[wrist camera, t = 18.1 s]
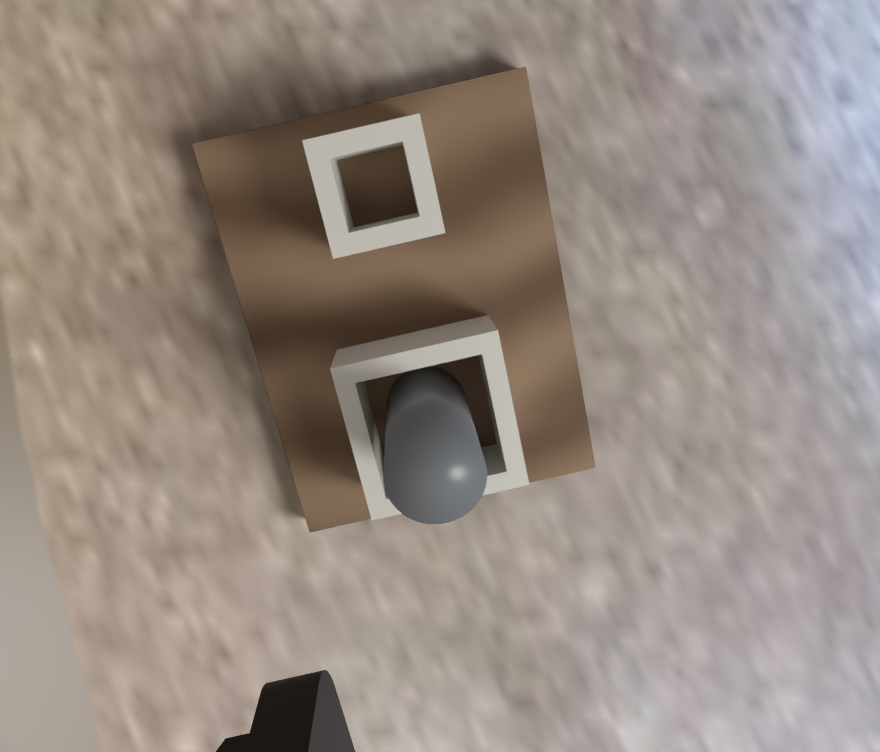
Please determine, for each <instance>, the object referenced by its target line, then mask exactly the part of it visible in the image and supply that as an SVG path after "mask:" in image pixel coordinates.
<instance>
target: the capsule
mask: <svg viewBox="0 0 880 752" xmlns="http://www.w3.org/2000/svg"><path fill="white" fill-rule="evenodd" d="M383 481H384V487H385V491H386V493H387V496H388V498H389V500H390V501H391V503H392V504H393V505H394V507H395V508H396V509H397V510H398V511H400V512H401V513H402V514H403V515H405V516H406V517H408V518H410V519H412V520H415V521H418V522H421V523H426V524H442V523H447V522H451V521H454V520H456V519H458V518H460V517H462V516H464V515H465V514H467V513H468V512H469V511H471V510H472V509H473V508H474V507H475V506H476V504H477V503H478V502H479V500H480V499H481V497H482V495H483V493H484V490H485V487H486V483H487V467H486V463H485V459H484V456H483V453H482V449H481V446H480V443H479V439H478V436H477V433H476V429H475V426H474V423H473V419H472V416H471V413H470V409H469V406H468V403H467V399H466V396H465V393H464V390H463V388H462V386H461V384H460V383H459V381H458V380H457V379H456V378H455V377H454V376H453V375H452V374H450V373H449V372H447V371H445V370H443V369H441V368H438V367H433V366H428V367H424V368H419V369H415V370H411V371H407V372H405V373H404V374H402V375H401V376H400V377H399V378H398V379H397V380H396V381H395V382H394V384H393V385H392V387H391V389H390V392H389V395H388V400H387V417H386V435H385V453H384V471H383Z"/></svg>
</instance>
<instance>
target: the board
mask: <svg viewBox="0 0 880 752" xmlns="http://www.w3.org/2000/svg"><path fill="white" fill-rule="evenodd" d="M419 113H420V117H421V122H422V126H423V131H424V136H425V140H426V145H427V149H428V154H429V159H430V163H431V168H432V173H433V177H434V182H435V186H436V191H437V196H438V200H439V205H440V210H441V214H442V219H443V224H444V228H445V233H444V234H440V235H435V236H431V237H427V238H422V239H418V240H414V241H409V242H405V243H401V244H396V245H392V246H387V247H383V248H379V249H374V250H370V251H366V252H361V253H357V254H353V255H348V256H344V257H340V258H335V259H333V257H332V253H331V249H330V245H329V242H328V238H327V234H326V230H325V226H324V222H323V219H322V215H321V211H320V207H319V203H318V200H317V196H316V192H315V188H314V184H313V180H312V177H311V173H310V169H309V165H308V161H307V157H306V154H305V150H304V146H303V142H302V140H306V139H310V138H315V137H319V136H323V135H328V134H332V133H336V132H341V131H345V130H349V129H354V128H358V127H362V126H367V125H371V124H375V123H380V122H384V121H388V120H393V119H397V118H401V117H406V116H410V115H414V114H419ZM192 146H193V149H194V152H195V156H196V159H197V162H198V166H199V169H200V172H201V175H202V179H203V182H204V185H205V189H206V192H207V195H208V199H209V202H210V205H211V208H212V212H213V215H214V218H215V222H216V225H217V228H218V232H219V235H220V238H221V241H222V245H223V248H224V251H225V255H226V258H227V261H228V264H229V268H230V271H231V274H232V278H233V281H234V284H235V288H236V291H237V294H238V297H239V301H240V304H241V307H242V311H243V314H244V317H245V321H246V324H247V327H248V330H249V334H250V337H251V340H252V344H253V347H254V350H255V354H256V357H257V360H258V363H259V367H260V370H261V373H262V377H263V380H264V383H265V387H266V390H267V393H268V396H269V400H270V403H271V406H272V410H273V413H274V416H275V420H276V423H277V426H278V429H279V433H280V436H281V439H282V443H283V446H284V449H285V453H286V456H287V459H288V462H289V466H290V469H291V472H292V476H293V479H294V482H295V486H296V489H297V492H298V495H299V499H300V502H301V505H302V509H303V512H304V515H305V519H306V522H307V525H308V528H309V532H314V531H319V530H323V529H327V528H332V527H336V526H341V525H345V524H349V523H354V522H358V521H363V520H367V519H371V516H370V512H369V509H368V505H367V501H366V498H365V494H364V491H363V487H362V483H361V480H360V476H359V472H358V469H357V465H356V461H355V458H354V454H353V450H352V447H351V443H350V440H349V436H348V432H347V429H346V425H345V421H344V418H343V414H342V410H341V407H340V403H339V400H338V396H337V392H336V389H335V385H334V381H333V378H332V374H331V370H330V367H331V365H332V362H333V359H334V356H335V354H336V351H337V349H342V348H346V347H350V346H355V345H359V344H364V343H368V342H372V341H377V340H381V339H385V338H390V337H394V336H399V335H403V334H407V333H412V332H416V331H420V330H425V329H429V328H433V327H438V326H442V325H447V324H451V323H455V322H460V321H464V320H468V319H473V318H477V317H481V316H486V315H489V317H490V318H491V320H492V322H493V323H494V325H495V326H496V328H497V329H498V332H499V337H500V342H501V347H502V352H503V357H504V362H505V367H506V372H507V377H508V382H509V387H510V391H511V396H512V401H513V406H514V411H515V416H516V421H517V426H518V431H519V436H520V441H521V446H522V450H523V455H524V460H525V465H526V470H527V475H528V480H529V483H530V482H534V481H538V480H543V479H547V478H552V477H556V476H560V475H565V474H569V473H574V472H578V471H582V470H587V469H591V468H595V462H594V456H593V450H592V445H591V439H590V433H589V427H588V422H587V416H586V410H585V404H584V399H583V393H582V387H581V381H580V376H579V370H578V364H577V358H576V353H575V347H574V341H573V335H572V330H571V324H570V318H569V312H568V307H567V301H566V295H565V289H564V284H563V278H562V272H561V266H560V261H559V255H558V249H557V243H556V238H555V232H554V226H553V220H552V215H551V209H550V203H549V197H548V191H547V186H546V180H545V174H544V168H543V163H542V157H541V151H540V145H539V140H538V134H537V128H536V122H535V117H534V111H533V105H532V99H531V94H530V88H529V82H528V76H527V71H526V67H522V68H517V69H513V70H509V71H505V72H500V73H496V74H492V75H487V76H483V77H479V78H474V79H470V80H466V81H461V82H457V83H453V84H448V85H444V86H440V87H435V88H431V89H427V90H422V91H418V92H414V93H409V94H405V95H401V96H397V97H392V98H388V99H384V100H379V101H375V102H371V103H366V104H362V105H358V106H353V107H349V108H345V109H340V110H336V111H332V112H327V113H323V114H319V115H314V116H310V117H306V118H302V119H297V120H293V121H289V122H284V123H280V124H276V125H271V126H267V127H263V128H258V129H254V130H250V131H245V132H241V133H237V134H232V135H228V136H224V137H219V138H215V139H211V140H206V141H202V142H198V143H194V144H192ZM337 162H338V166H339V170H340V174H341V178H342V182H343V186H344V190H345V194H346V198H347V202H348V206H349V210H350V214H351V218H352V222H353V226H354V227H357V226H361V225H366V224H370V223H374V222H379V221H383V220H387V219H392V218H396V217H400V216H405V215H409V214H413V213H418V211H417V207H416V202H415V198H414V193H413V189H412V184H411V180H410V175H409V171H408V167H407V162H406V158H405V153H404V149H403V145H401V146H397V147H392V148H388V149H384V150H379V151H375V152H371V153H366V154H362V155H358V156H353V157H349V158H345V159H340V160H337ZM433 367H438V368H441V369H443V370H445V371H447V372H449V373H450V374H452V375H453V376H454V377H455V378H456V379H457V380H458V381H459V383H460V384H461V386H462V388H463V390H464V393H465V396H466V399H467V403H468V406H469V409H470V413H471V416H472V419H473V423H474V426H475V429H476V433H477V436H478V439H479V443H480V446H481V447H485V446H489V445H494V444H497V442H496V438H495V433H494V428H493V424H492V419H491V414H490V409H489V405H488V400H487V395H486V391H485V386H484V381H483V377H482V372H481V367H480V363H479V358H478V355H476V356H472V357H468V358H463V359H459V360H454V361H450V362H446V363H441V364H437V365H433ZM406 372H407V371H406ZM404 373H405V372H402V373H398V374H393V375H389V376H385V377H380V378H376V379H371V380H367V381H364V382H365V386H366V390H367V393H368V397H369V401H370V405H371V409H372V413H373V416H374V420H375V424H376V428H377V432H378V435H379V439H380V443H381V447H382V451H383V454H384V453H385V435H386V417H387V400H388V395H389V392H390V389H391V387H392V385H393V384H394V382H395V381H396V380H397V379H398V378H399V377H400V376H401V375H402V374H404Z"/></svg>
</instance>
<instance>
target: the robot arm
mask: <svg viewBox="0 0 880 752" xmlns="http://www.w3.org/2000/svg"><path fill="white" fill-rule="evenodd" d="M216 752H355V750H354V746H353V743H352V740H351V737H350V734H349V730H348V727H347V724H346V721H345V718H344V714H343V711H342V708H341V705H340V701H339V698H338V695H337V692H336V689H335V686H334V683H333V680H332V678H331V676H330V674H329V673H328V671H326V670H323V671H319V672H314V673H310V674H305V675H301V676H296V677H292V678H287V679H283V680H278V681H274V682H269V683H266V684H265V685H264V686H263V688H262V691H261V694H260V697H259V701H258V705H257V708H256V712H255V716H254V719H253V723H252V727H251V731H250V733H248V734H244V735H239V736H235V737H230V738H226V739H225V740H224V741H223V743H222V744H221V745H220V747H219V748H218V749H217V751H216Z"/></svg>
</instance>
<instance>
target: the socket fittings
mask: <svg viewBox="0 0 880 752" xmlns="http://www.w3.org/2000/svg"><path fill="white" fill-rule="evenodd" d="M302 142H303V146H304V150H305V154H306V157H307V161H308V165H309V169H310V173H311V177H312V180H313V184H314V188H315V192H316V196H317V200H318V203H319V207H320V211H321V215H322V219H323V222H324V226H325V230H326V234H327V238H328V242H329V245H330V249H331V253H332V257H333V259H335V258H340V257H344V256H348V255H353V254H357V253H361V252H366V251H370V250H374V249H379V248H383V247H387V246H392V245H396V244H401V243H405V242H409V241H414V240H418V239H422V238H427V237H431V236H435V235H440V234H444V233H445V228H444V224H443V219H442V214H441V210H440V205H439V200H438V196H437V191H436V186H435V182H434V177H433V173H432V168H431V163H430V159H429V154H428V149H427V145H426V140H425V136H424V131H423V126H422V122H421V117H420V113H419V114H414V115H410V116H406V117H401V118H397V119H393V120H388V121H384V122H380V123H375V124H371V125H367V126H362V127H358V128H354V129H349V130H345V131H341V132H336V133H332V134H328V135H323V136H319V137H315V138H310V139H306V140H302ZM401 145H403V149H404V153H405V158H406V162H407V167H408V171H409V175H410V180H411V184H412V189H413V193H414V198H415V202H416V207H417V211H418V213H413V214H409V215H405V216H400V217H396V218H392V219H387V220H383V221H379V222H374V223H370V224H366V225H361V226H357V227H354V226H353V222H352V218H351V214H350V210H349V206H348V202H347V198H346V194H345V190H344V186H343V182H342V178H341V174H340V170H339V166H338V162H337V160H340V159H345V158H349V157H353V156H358V155H362V154H366V153H371V152H375V151H379V150H384V149H388V148H392V147H397V146H401ZM476 355H478V358H479V363H480V367H481V372H482V377H483V381H484V386H485V391H486V395H487V400H488V405H489V409H490V414H491V419H492V424H493V428H494V433H495V438H496V442H497V444H494V445H489V446H485V447H481V449H482V453H483V456H484V459H485V463H486V467H487V483H486V487H485V490H484V493H483V495H487V494H491V493H495V492H500V491H504V490H509V489H513V488H517V487H522V486H526V485H529V480H528V475H527V470H526V465H525V460H524V455H523V450H522V446H521V441H520V436H519V431H518V426H517V421H516V416H515V411H514V406H513V401H512V396H511V391H510V387H509V382H508V377H507V372H506V367H505V362H504V357H503V352H502V347H501V342H500V337H499V332H498V329H497V328H496V326H495V325H494V323H493V322H492V320H491V318H490V317H489V315H486V316H481V317H477V318H473V319H468V320H464V321H460V322H455V323H451V324H447V325H442V326H438V327H433V328H429V329H425V330H420V331H416V332H412V333H407V334H403V335H399V336H394V337H390V338H385V339H381V340H377V341H372V342H368V343H364V344H359V345H355V346H350V347H346V348H342V349H337V351H336V354H335V356H334V359H333V362H332V365H331V367H330V370H331V374H332V378H333V381H334V385H335V389H336V392H337V396H338V400H339V403H340V407H341V410H342V414H343V418H344V421H345V425H346V429H347V432H348V436H349V440H350V443H351V447H352V450H353V454H354V458H355V461H356V465H357V469H358V472H359V476H360V480H361V483H362V487H363V491H364V494H365V498H366V501H367V505H368V509H369V512H370V516H371V520H377V519H381V518H385V517H390V516H394V515H399V514H402V513H401V512H400V511H398V510H397V509H396V508H395V507H394V505H393V504H392V503H391V501H390V500H389V498H388V496H387V493H386V491H385V487H384V481H383V471H384V454H383V451H382V447H381V443H380V439H379V435H378V432H377V428H376V424H375V420H374V416H373V413H372V409H371V405H370V401H369V397H368V393H367V390H366V386H365V382H364V381H367V380H371V379H376V378H380V377H385V376H389V375H393V374H398V373H402V372H406V371H411V370H415V369H419V368H424V367H428V366H433V365H437V364H441V363H446V362H450V361H454V360H459V359H463V358H468V357H472V356H476Z"/></svg>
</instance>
